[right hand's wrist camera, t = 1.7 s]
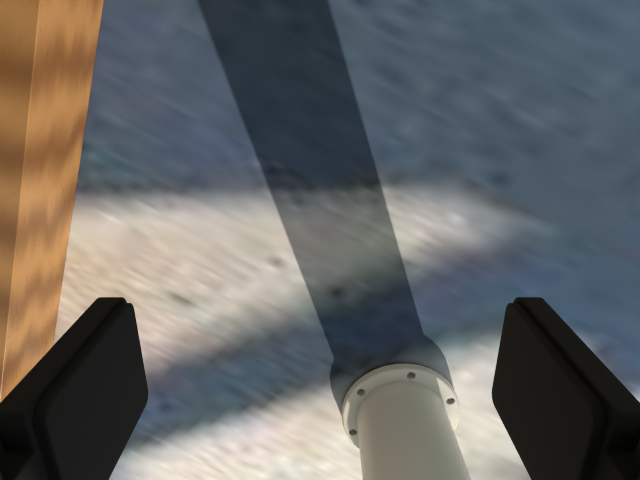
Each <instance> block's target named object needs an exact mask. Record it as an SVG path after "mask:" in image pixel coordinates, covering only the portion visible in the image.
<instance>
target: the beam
mask: <svg viewBox="0 0 640 480" xmlns="http://www.w3.org/2000/svg"><path fill="white" fill-rule="evenodd" d="M103 1H104V0H0V402H1V401H2V400H3V399H4V398H5V397H6V396H7V395H8V394H9V393H10V392H11V391H12V390H13V389H14V387H15V386H16V385H17V384H18V383H19V382H20V381H21V380H22V379H23V378H24V377H25V376H26V375H27V373H28V372H29V371H30V370H31V369H32V368H33V367H34V366H35V365H36V364H37V363H38V362H39V361H40V360H41V358H42V357H43V356H44V355H45V354H46V353H47V352H48V351H49V350H50V349H51V348H52V347H53V341H54V334H55V327H56V320H57V314H58V307H59V300H60V293H61V286H62V280H63V273H64V266H65V259H66V252H67V246H68V239H69V232H70V225H71V218H72V212H73V205H74V198H75V191H76V184H77V178H78V171H79V164H80V157H81V150H82V144H83V137H84V130H85V123H86V117H87V110H88V103H89V96H90V89H91V83H92V76H93V69H94V62H95V55H96V49H97V42H98V35H99V28H100V21H101V15H102V8H103Z"/></svg>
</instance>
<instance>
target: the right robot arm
mask: <svg viewBox="0 0 640 480" xmlns="http://www.w3.org/2000/svg"><path fill="white" fill-rule="evenodd" d="M147 399H148V387H147V381H146V376H145V370H144V364H143V358H142V352H141V347H140V341H139V335H138V329H137V323H136V318H135V312H134V307H133V305H132V304H131V303H127V302H126V300H125V299H124V298H123V297H101V298H98V299H96V300H95V301H94V303H93V304H92V305H91V306H90V307H89V308H88V309H87V310H86V311H85V312H84V313H83V314H82V315H81V317H80V318H79V319H78V320H77V321H76V322H75V323H74V324H73V325H72V326H71V327H70V328H69V329H68V330H67V332H66V333H65V334H64V335H63V336H62V337H61V338H60V339H59V340H58V341H57V342H56V343H55V344H54V346H53V347H52V348H51V349H50V350H49V351H48V352H47V353H46V354H45V355H44V356H43V357H42V358H41V360H40V361H39V362H38V363H37V364H36V365H35V366H34V367H33V368H32V369H31V370H30V371H29V372H28V373H27V375H26V376H25V377H24V378H23V379H22V380H21V381H20V382H19V383H18V384H17V385H16V386H15V387H14V389H13V390H12V391H11V392H10V393H9V394H8V395H7V396H6V397H5V398H4V399H3V400H2V401H1V402H0V480H109V478H110V476H111V474H112V472H113V470H114V468H115V466H116V464H117V462H118V460H119V458H120V456H121V454H122V452H123V450H124V448H125V446H126V444H127V442H128V440H129V438H130V436H131V434H132V432H133V430H134V428H135V426H136V424H137V422H138V420H139V418H140V416H141V414H142V412H143V410H144V408H145V406H146V403H147ZM492 399H493V403H494V406H495V408H496V410H497V412H498V414H499V416H500V418H501V420H502V422H503V424H504V426H505V428H506V430H507V432H508V434H509V436H510V438H511V440H512V442H513V444H514V446H515V448H516V450H517V452H518V454H519V456H520V458H521V460H522V462H523V464H524V466H525V468H526V470H527V472H528V474H529V476H530V478H531V480H640V402H639V401H638V400H637V399H636V398H635V397H634V396H633V395H632V394H631V393H630V392H629V391H628V390H627V389H626V387H625V386H624V385H623V384H622V383H621V382H620V381H619V380H618V379H617V378H616V377H615V376H614V375H613V373H612V372H611V371H610V370H609V369H608V368H607V367H606V366H605V365H604V364H603V363H602V362H601V361H600V360H599V358H598V357H597V356H596V355H595V354H594V353H593V352H592V351H591V350H590V349H589V348H588V347H587V346H586V344H585V343H584V342H583V341H582V340H581V339H580V338H579V337H578V336H577V335H576V334H575V333H574V332H573V330H572V329H571V328H570V327H569V326H568V325H567V324H566V323H565V322H564V321H563V320H562V319H561V318H560V317H559V315H558V314H557V313H556V312H555V311H554V310H553V309H552V308H551V307H550V306H549V305H548V304H547V303H546V301H545V300H544V299H542V298H539V297H517V298H516V299H515V300H514V302H513V303H509V304H508V305H507V307H506V312H505V318H504V323H503V329H502V335H501V341H500V347H499V352H498V358H497V364H496V370H495V376H494V381H493V387H492ZM459 415H460V407H459V402H458V399H457V396H456V393H455V391H454V389H453V387H452V386H451V384H450V383H449V382H448V381H447V379H445V378H444V377H443V376H442V375H441V374H439V373H438V372H436V371H434V370H432V369H430V368H427V367H424V366H421V365H415V364H393V365H387V366H383V367H380V368H377V369H374V370H373V371H371V372H369V373H367V374H365V375H364V376H362V377H361V378H360V379H358V380H357V381H356V382H355V383H354V384H353V385H352V387H351V388H350V389H349V391H348V392H347V394H346V396H345V398H344V402H343V405H342V421H343V426H344V430H345V432H346V434H347V436H348V437H349V439H350V440H351V441H352V442H353V443H354V444H355V446H357V447H358V448H359V449H360V457H361V466H362V476H363V480H471V478H470V476H469V473H468V470H467V467H466V464H465V462H464V459H463V456H462V453H461V451H460V448H459V445H458V442H457V439H456V437H455V434H454V430H455V428H456V426H457V423H458V420H459Z"/></svg>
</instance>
